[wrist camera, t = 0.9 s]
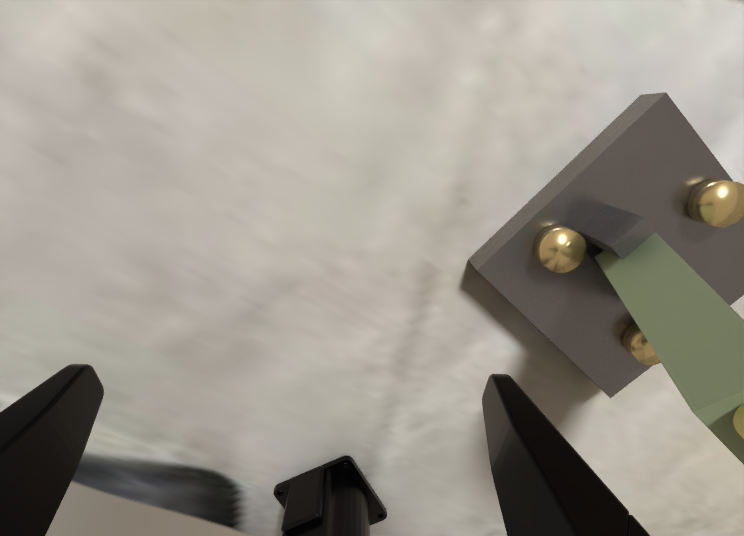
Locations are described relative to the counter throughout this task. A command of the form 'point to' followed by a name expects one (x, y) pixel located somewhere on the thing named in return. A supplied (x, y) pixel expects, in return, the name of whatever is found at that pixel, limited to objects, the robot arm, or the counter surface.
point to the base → (618, 236)
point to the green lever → (686, 333)
